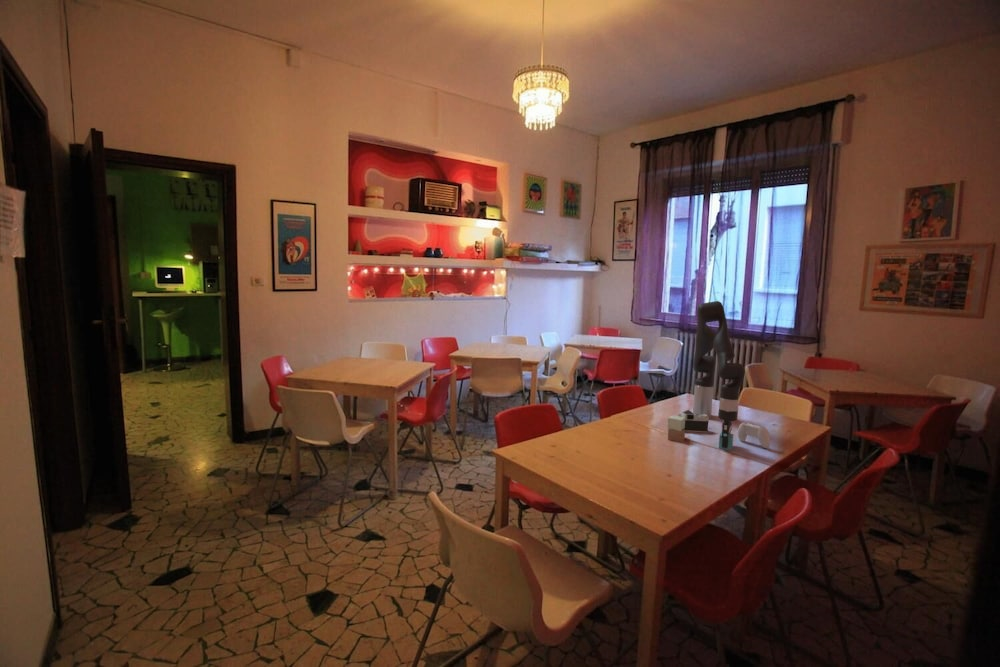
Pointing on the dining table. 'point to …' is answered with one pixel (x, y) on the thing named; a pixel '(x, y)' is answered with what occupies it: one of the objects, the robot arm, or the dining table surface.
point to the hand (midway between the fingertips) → (725, 444)
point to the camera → (695, 421)
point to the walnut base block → (676, 435)
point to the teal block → (730, 442)
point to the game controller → (754, 433)
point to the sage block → (676, 423)
